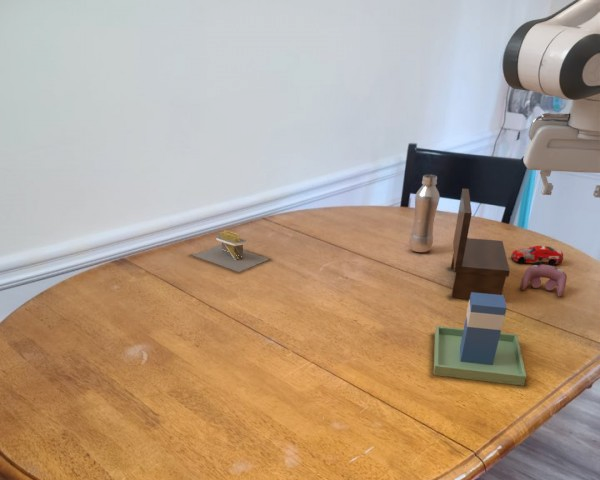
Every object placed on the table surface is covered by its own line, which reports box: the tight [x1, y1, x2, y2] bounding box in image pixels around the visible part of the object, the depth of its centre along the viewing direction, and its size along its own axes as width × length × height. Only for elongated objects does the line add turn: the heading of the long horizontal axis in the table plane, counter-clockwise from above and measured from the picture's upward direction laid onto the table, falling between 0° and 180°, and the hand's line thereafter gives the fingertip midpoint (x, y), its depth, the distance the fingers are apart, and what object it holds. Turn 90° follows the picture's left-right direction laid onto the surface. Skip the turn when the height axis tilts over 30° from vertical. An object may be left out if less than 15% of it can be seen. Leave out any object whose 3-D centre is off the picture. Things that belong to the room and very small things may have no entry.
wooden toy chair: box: [450, 188, 511, 301], centre depth 134 cm, size 12×20×20 cm, turn 168°
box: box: [460, 292, 508, 365], centre depth 107 cm, size 6×6×12 cm
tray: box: [433, 325, 527, 386], centre depth 110 cm, size 16×16×2 cm
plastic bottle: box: [408, 174, 441, 253], centre depth 152 cm, size 6×7×20 cm
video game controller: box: [520, 264, 568, 297], centre depth 136 cm, size 10×5×7 cm, turn 65°
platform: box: [192, 229, 270, 273], centre depth 151 cm, size 12×18×7 cm, turn 50°
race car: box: [510, 245, 564, 266], centre depth 151 cm, size 13×5×4 cm, turn 80°
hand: (571, 195), depth 106 cm, fingers open, 8 cm apart
